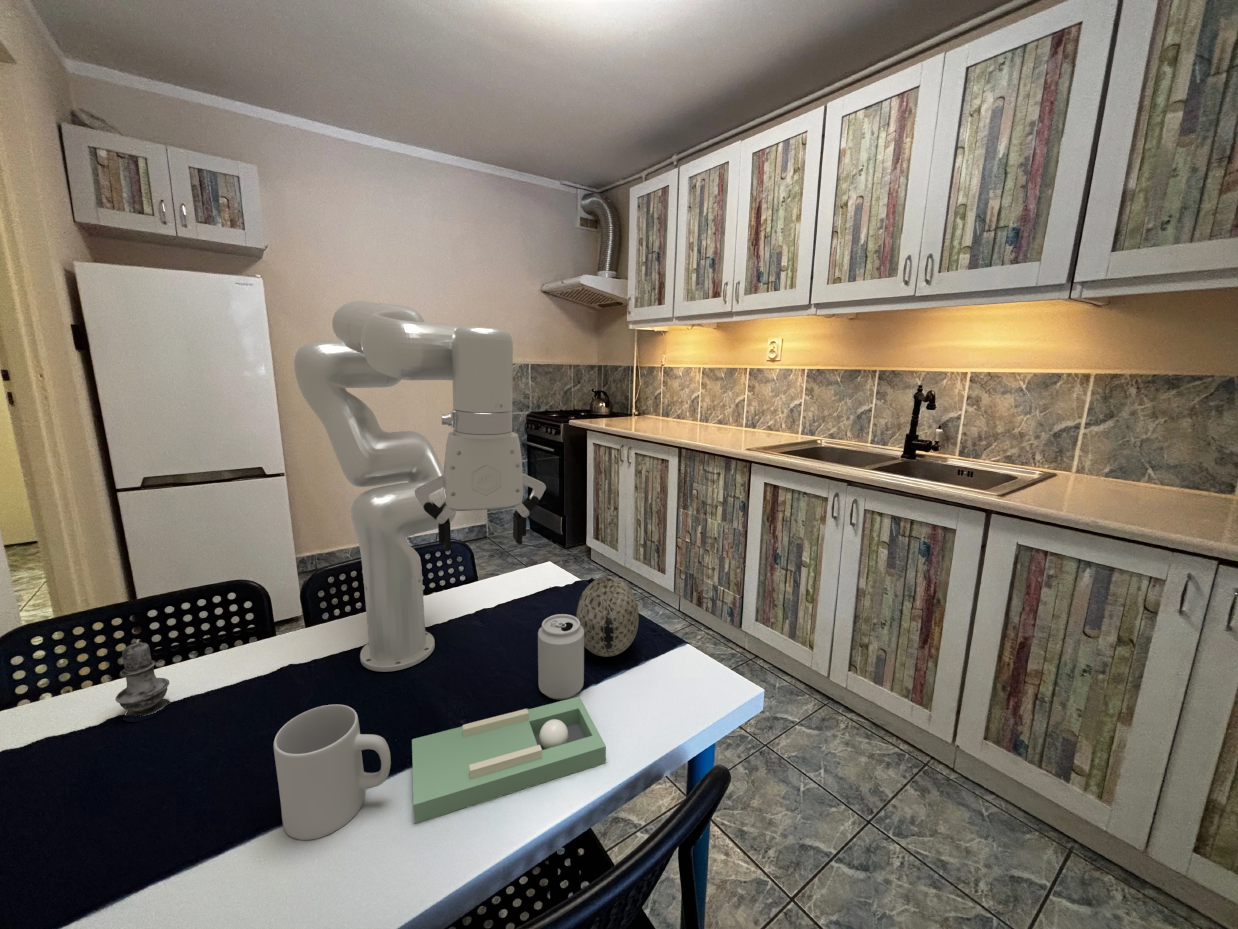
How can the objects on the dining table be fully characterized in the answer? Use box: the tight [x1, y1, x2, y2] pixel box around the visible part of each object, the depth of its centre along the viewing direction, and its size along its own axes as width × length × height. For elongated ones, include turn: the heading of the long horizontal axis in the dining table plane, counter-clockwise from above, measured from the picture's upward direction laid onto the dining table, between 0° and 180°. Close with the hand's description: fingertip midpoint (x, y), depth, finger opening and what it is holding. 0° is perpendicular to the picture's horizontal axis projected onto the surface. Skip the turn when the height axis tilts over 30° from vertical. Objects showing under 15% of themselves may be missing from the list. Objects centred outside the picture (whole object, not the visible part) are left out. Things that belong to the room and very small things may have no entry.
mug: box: [273, 704, 392, 841], centre depth 58 cm, size 12×8×11 cm
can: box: [537, 613, 585, 701], centre depth 81 cm, size 8×8×12 cm
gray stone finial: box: [115, 638, 171, 717], centre depth 73 cm, size 6×6×12 cm
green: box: [411, 696, 607, 825], centre depth 66 cm, size 11×24×4 cm, turn 113°
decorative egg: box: [575, 575, 640, 658], centre depth 91 cm, size 12×12×15 cm
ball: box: [539, 719, 568, 749], centre depth 68 cm, size 4×4×4 cm
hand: (483, 544), depth 69 cm, fingers open, 9 cm apart
